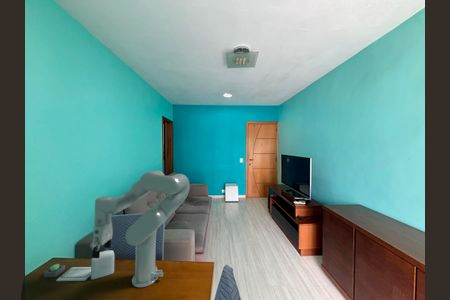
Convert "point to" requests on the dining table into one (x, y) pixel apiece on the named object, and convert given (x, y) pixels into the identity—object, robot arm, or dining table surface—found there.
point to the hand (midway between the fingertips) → (102, 252)
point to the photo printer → (102, 265)
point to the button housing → (54, 274)
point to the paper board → (76, 274)
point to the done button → (54, 267)
